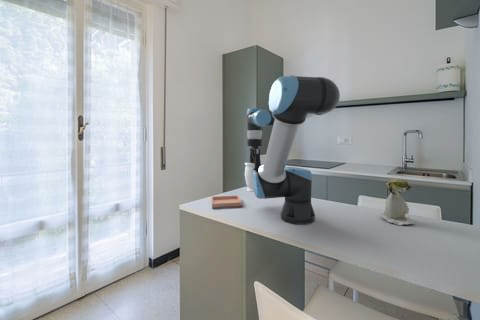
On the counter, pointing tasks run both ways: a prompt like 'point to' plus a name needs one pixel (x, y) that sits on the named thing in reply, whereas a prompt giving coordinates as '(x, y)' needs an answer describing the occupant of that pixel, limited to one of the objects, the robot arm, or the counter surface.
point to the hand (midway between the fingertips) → (254, 180)
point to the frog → (397, 203)
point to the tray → (226, 201)
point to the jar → (249, 175)
